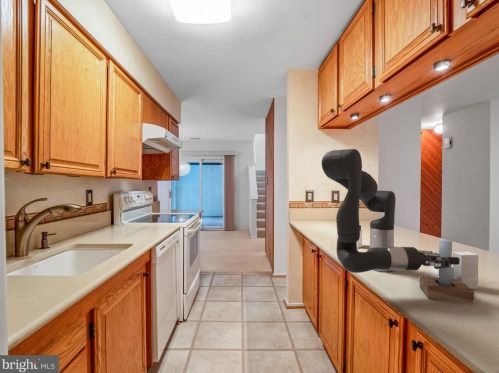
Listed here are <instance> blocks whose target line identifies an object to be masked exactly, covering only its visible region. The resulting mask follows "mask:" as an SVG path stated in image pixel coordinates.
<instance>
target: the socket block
mask: <svg viewBox="0 0 499 373" xmlns="http://www.w3.org/2000/svg"><path fill="white" fill-rule="evenodd" d="M438 280H439V277H436V276H435V277H434V276H422V275H419V282H418V283H419V284H418V285H419V288H420V290H421V292H422V293H423V294H424V295H425V296H426V297H427V299H428V300H431V301H440V302H448V301H450V302H449V303H457V302H458V303H460V304H469V305H474V304H475V290H473V289H471V288H469V287H468V286H467V285H466V284H465V283H463V282H462V281H461V280H459V279H451V286H443V285H438Z"/></svg>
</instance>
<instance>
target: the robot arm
mask: <svg viewBox="0 0 499 373" xmlns="http://www.w3.org/2000/svg"><path fill="white" fill-rule="evenodd" d="M359 151H360V150H358V149H355V148H347V149H346V148H345V149H335V150H330V151H327V152H326V153H325V154H324V155H323V156H322V159H321V168H322V170H323V173H324V174H325V176H326V177H327V178H328V179H330V180H331V181H334V182H336V183H337V184H339V185H341V186H342V187H343V188H345V189H346V190H347V192H346V195H345V197H344V198H343V200H342V202H341V204H340V206H339V208H338V210H337V213H336V217H335V218H336V219H335V220H336V232H337V240H336V256H337V259H338V261H339V262H340V264H341V265H342V267H343V268H344V269H345V271H347V272H350V273H355V274H357V273H364V272H365V273H366V272H370V271H373V270H374V271H377V272H385V273H387V272H388V273H389V272H393V271H418V270H420V268H421V267H422V266H424V267H433V268H434V269H435V270H439V269H441V268H448V267H450V264H451V265H452V266H453V265H458V264H459V263H460V259H459V258H458V257H453V256H452V257H440V256H439V252H433V251H431V250H421V249H420V250H419V249H417V248H416V247H414V246H395V219H396V218H395V214H396V202H397V201H396V194H395V192H394V191H392V190H378V188H379V186H378V183H377V181H376V179H375V178H374V177H373V176H372V175H371V174H370V173H368V172H367V171H364V170H363V161H362V160H363V159H362V155H361V153H360V152H359ZM360 202H362V203H363V205H364V207H366V208H367V210H369V211H370V212H374V213H384V215H383V216H382V217H381V218H377V219H373V220H371V221H370V222H369V248H368V249H367V251H359V250H358V248H357V241H358V240H359V238H360V226H359V225H360Z"/></svg>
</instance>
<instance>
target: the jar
mask: <svg viewBox="0 0 499 373" xmlns="http://www.w3.org/2000/svg"><path fill="white" fill-rule="evenodd" d="M359 226H360V238H359V240H358V241H357V249H360V248H362V247H363V230H362V225H361V224H359Z"/></svg>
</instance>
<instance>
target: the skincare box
mask: <svg viewBox="0 0 499 373" xmlns="http://www.w3.org/2000/svg"><path fill="white" fill-rule="evenodd" d="M452 257H458V258H459V259H460V263H459V264H458V265H452V267H453V268H454V279H459V280H461V281H462V282H463V283H465V284H466V285H467V286H468V287H469V288H471V289H472V290H473V289H475V290H476V289H477V290H478V289H479V254H477V253H474V252H471V251H453V252H452Z"/></svg>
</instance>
